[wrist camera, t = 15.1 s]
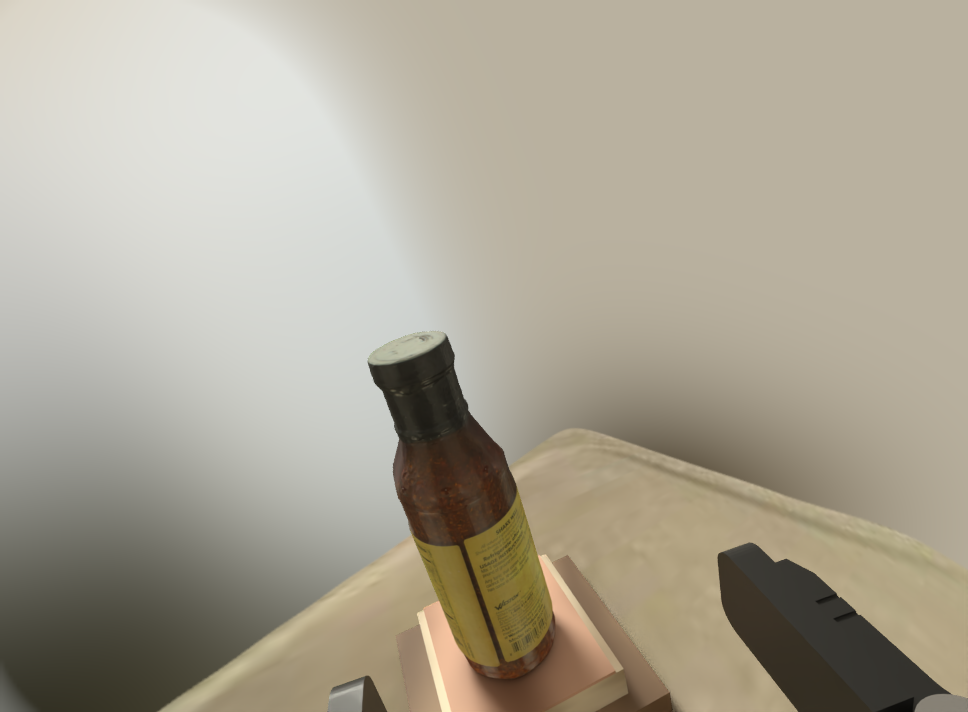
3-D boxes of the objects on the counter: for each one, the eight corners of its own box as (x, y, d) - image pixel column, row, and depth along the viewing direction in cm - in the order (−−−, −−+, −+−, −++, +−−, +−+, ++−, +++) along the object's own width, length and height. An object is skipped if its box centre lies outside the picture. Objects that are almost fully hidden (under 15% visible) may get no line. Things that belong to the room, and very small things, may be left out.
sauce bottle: (554, 590, 32) (485, 309, 26) (564, 681, 27) (479, 350, 20) (459, 603, 33) (369, 335, 27) (449, 695, 27) (330, 381, 21)
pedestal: (571, 569, 38) (562, 533, 37) (672, 710, 28) (665, 664, 26) (401, 650, 35) (386, 612, 34) (439, 844, 24) (419, 800, 23)
